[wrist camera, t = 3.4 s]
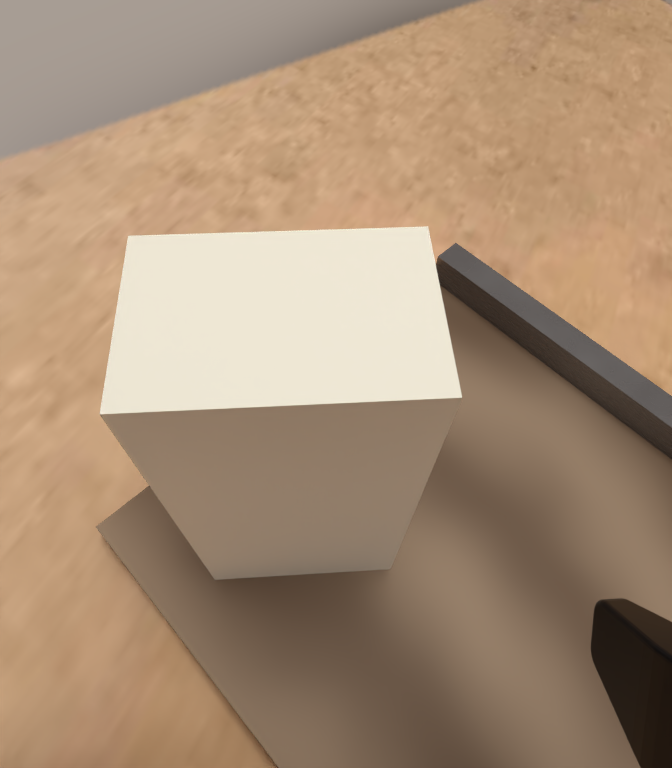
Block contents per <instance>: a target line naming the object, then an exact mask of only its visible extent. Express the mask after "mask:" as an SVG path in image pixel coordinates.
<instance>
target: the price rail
mask: <svg viewBox="0 0 672 768" xmlns="http://www.w3.org/2000/svg"><path fill="white" fill-rule="evenodd" d="M436 269H437V274H438V279H439V284H440V285H441V286H442V287H443V288H445V289H446V290H447V291H449V292H450V293H451V294H453V295H454V296H455V297H456V298H458V299H459V300H460V301H462V302H463V303H464V304H466V305H467V306H468V307H470V308H471V309H472V310H474V311H475V312H476V313H478V314H479V315H480V316H482V317H483V318H484V319H486V320H487V321H488V322H490V323H491V324H492V325H494V326H495V327H496V328H498V329H499V330H500V331H502V332H503V333H504V334H506V335H507V336H508V337H510V338H511V339H512V340H514V341H515V342H516V343H518V344H519V345H520V346H522V347H523V348H524V349H526V350H527V351H528V352H530V353H531V354H532V355H533V356H535V357H536V358H537V359H539V360H540V361H541V362H543V363H544V364H545V365H547V366H548V367H549V368H551V369H552V370H553V371H555V372H556V373H557V374H559V375H560V376H561V377H563V378H564V379H565V380H567V381H568V382H569V383H571V384H572V385H573V386H575V387H576V388H577V389H579V390H580V391H581V392H583V393H584V394H585V395H587V396H588V397H589V398H591V399H592V400H593V401H595V402H596V403H597V404H599V405H600V406H601V407H603V408H604V409H605V410H607V411H608V412H609V413H611V414H612V415H613V416H614V417H616V418H617V419H618V420H620V421H621V422H622V423H624V424H625V425H626V426H628V427H629V428H630V429H632V430H633V431H634V432H636V433H637V434H638V435H640V436H641V437H642V438H644V439H645V440H646V441H648V442H649V443H650V444H652V445H653V446H654V447H656V448H657V449H658V450H660V451H661V452H662V453H664V454H665V455H666V456H668V457H669V458H670V459H672V396H671V395H669V394H668V393H666V392H665V391H664V390H662V389H661V388H659V387H658V386H657V385H655V384H654V383H652V382H651V381H650V380H648V379H647V378H645V377H644V376H642V375H641V374H640V373H638V372H637V371H635V370H634V369H633V368H631V367H630V366H628V365H627V364H626V363H624V362H623V361H621V360H620V359H619V358H617V357H616V356H614V355H613V354H611V353H610V352H609V351H607V350H606V349H604V348H603V347H602V346H600V345H599V344H597V343H596V342H595V341H593V340H592V339H590V338H589V337H588V336H586V335H585V334H583V333H582V332H580V331H579V330H578V329H576V328H575V327H573V326H572V325H571V324H569V323H568V322H566V321H565V320H564V319H562V318H561V317H559V316H558V315H557V314H555V313H554V312H552V311H551V310H550V309H548V308H547V307H545V306H544V305H542V304H541V303H540V302H538V301H537V300H535V299H534V298H533V297H531V296H530V295H528V294H527V293H526V292H524V291H523V290H521V289H520V288H519V287H517V286H516V285H514V284H513V283H511V282H510V281H509V280H507V279H506V278H504V277H503V276H502V275H500V274H499V273H497V272H496V271H495V270H493V269H492V268H490V267H489V266H488V265H486V264H485V263H483V262H482V261H480V260H479V259H478V258H476V257H475V256H473V255H472V254H471V253H469V252H468V251H466V250H465V249H464V248H462V247H461V246H459V245H458V244H457V243H455V244H454V245H453V246H451V247H450V248H449V249H447V250H446V251H445V252H443V253H442V254H441V255H439V256H438V259H437V263H436Z"/></svg>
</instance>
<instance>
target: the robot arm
mask: <svg viewBox="0 0 672 768" xmlns="http://www.w3.org/2000/svg"><path fill="white" fill-rule="evenodd" d="M591 655H592V660H593V663H594V665H595V668H596V670H597V672H598V674H599V677H600V679H601V681H602V683H603V686H604V688H605V690H606V692H607V695H608V697H609V699H610V701H611V704H612V706H613V708H614V710H615V713H616V715H617V717H618V719H619V722H620V724H621V726H622V728H623V731H624V733H625V735H626V737H627V740H628V742H629V744H630V746H631V749H632V751H633V753H634V755H635V757H636V759H637V761H638V763H639V765H640V767H641V768H672V622H671V621H669V620H667V619H665V618H663V617H661V616H659V615H657V614H655V613H653V612H651V611H649V610H647V609H645V608H643V607H641V606H639V605H637V604H635V603H633V602H631V601H629V600H627V599H624V598H616V599H601V600H599V601H598V602H597V603H596V604H595V607H594V614H593V624H592V635H591Z"/></svg>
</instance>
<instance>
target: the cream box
mask: <svg viewBox="0 0 672 768" xmlns="http://www.w3.org/2000/svg"><path fill="white" fill-rule="evenodd" d="M461 400H462V394H461V389H460V384H459V379H458V374H457V369H456V364H455V359H454V354H453V349H452V344H451V339H450V334H449V329H448V324H447V319H446V314H445V309H444V304H443V299H442V294H441V289H440V284H439V279H438V274H437V269H436V264H435V259H434V254H433V249H432V244H431V239H430V234H429V229H428V227H400V228H367V229H335V230H302V231H270V232H237V233H205V234H172V235H140V236H128V241H127V247H126V253H125V260H124V266H123V272H122V278H121V285H120V291H119V297H118V303H117V309H116V316H115V322H114V328H113V334H112V341H111V347H110V353H109V359H108V365H107V372H106V378H105V384H104V390H103V397H102V403H101V409H100V416H101V417H102V418H103V420H104V421H105V423H106V424H107V426H108V427H109V428H110V430H111V431H112V433H113V434H114V436H115V437H116V439H117V440H118V441H119V443H120V444H121V446H122V447H123V449H124V450H125V451H126V453H127V454H128V456H129V457H130V459H131V460H132V462H133V463H134V464H135V466H136V467H137V469H138V470H139V472H140V473H141V474H142V476H143V477H144V479H145V480H146V482H147V483H148V485H149V486H150V487H151V489H152V490H153V492H154V493H155V495H156V496H157V497H158V499H159V500H160V502H161V503H162V505H163V506H164V508H165V509H166V510H167V512H168V513H169V515H170V516H171V518H172V519H173V520H174V522H175V523H176V525H177V526H178V528H179V529H180V531H181V532H182V533H183V535H184V536H185V538H186V539H187V541H188V542H189V543H190V545H191V546H192V548H193V549H194V551H195V552H196V554H197V555H198V556H199V558H200V559H201V561H202V562H203V564H204V565H205V566H206V568H207V569H208V571H209V572H210V574H211V575H212V577H213V578H214V579H215V580H220V579H236V578H253V577H269V576H286V575H302V574H318V573H335V572H351V571H368V570H384V569H391V566H392V564H393V562H394V559H395V557H396V554H397V552H398V550H399V547H400V545H401V543H402V540H403V538H404V535H405V533H406V531H407V528H408V526H409V523H410V521H411V519H412V516H413V514H414V512H415V509H416V507H417V504H418V502H419V500H420V497H421V495H422V492H423V490H424V488H425V485H426V483H427V481H428V478H429V476H430V473H431V471H432V469H433V466H434V464H435V462H436V459H437V457H438V454H439V452H440V450H441V447H442V445H443V442H444V440H445V438H446V435H447V433H448V431H449V428H450V426H451V423H452V421H453V419H454V416H455V414H456V411H457V409H458V407H459V404H460V402H461Z"/></svg>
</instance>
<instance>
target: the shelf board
mask: <svg viewBox="0 0 672 768" xmlns="http://www.w3.org/2000/svg"><path fill="white" fill-rule="evenodd" d="M440 289H441V294H442V299H443V304H444V309H445V314H446V319H447V324H448V329H449V334H450V339H451V344H452V349H453V354H454V359H455V364H456V369H457V374H458V379H459V384H460V389H461V394H462V400H461V402H460V404H459V407H458V409H457V411H456V414H455V416H454V419H453V421H452V423H451V426H450V428H449V431H448V433H447V435H446V438H445V440H444V442H443V445H442V447H441V450H440V452H439V454H438V457H437V459H436V462H435V464H434V466H433V469H432V471H431V473H430V476H429V478H428V481H427V483H426V485H425V488H424V490H423V492H422V495H421V497H420V500H419V502H418V504H417V507H416V509H415V512H414V514H413V516H412V519H411V521H410V523H409V526H408V528H407V531H406V533H405V535H404V538H403V540H402V543H401V545H400V547H399V550H398V552H397V554H396V557H395V559H394V562H393V564H392V566H391V569H384V570H368V571H351V572H335V573H318V574H302V575H286V576H269V577H253V578H236V579H220V580H215V579H214V578H213V577H212V575H211V574H210V572H209V571H208V569H207V568H206V566H205V565H204V564H203V562H202V561H201V559H200V558H199V556H198V555H197V554H196V552H195V551H194V549H193V548H192V546H191V545H190V543H189V542H188V541H187V539H186V538H185V536H184V535H183V533H182V532H181V531H180V529H179V528H178V526H177V525H176V523H175V522H174V520H173V519H172V518H171V516H170V515H169V513H168V512H167V510H166V509H165V508H164V506H163V505H162V503H161V502H160V500H159V499H158V497H157V496H156V495H155V493H154V492H153V490H152V489H151V487H150V486H148V487H147V488H146V489H144V490H143V491H142V492H140V493H139V494H138V495H137V496H135V497H134V498H133V499H131V500H130V501H129V502H128V503H126V504H125V505H124V506H122V507H121V508H120V509H118V510H117V511H116V512H115V513H113V514H112V515H111V516H109V517H108V518H107V519H106V520H104V521H103V522H102V523H100V524H99V525H98V526H96V528H97V529H98V531H99V532H100V533H101V534H102V536H103V537H104V538H105V540H106V541H107V542H108V544H109V545H110V546H111V548H112V549H113V550H114V552H115V553H116V554H117V556H118V557H119V558H120V560H121V561H122V562H123V563H124V565H125V566H126V567H127V569H128V570H129V571H130V573H131V574H132V575H133V577H134V578H135V579H136V581H137V582H138V583H139V585H140V586H141V587H142V588H143V590H144V591H145V592H146V594H147V595H148V596H149V598H150V599H151V600H152V602H153V603H154V604H155V606H156V607H157V608H158V610H159V611H160V612H161V614H162V615H163V616H164V617H165V619H166V620H167V621H168V623H169V624H170V625H171V627H172V628H173V629H174V631H175V632H176V633H177V635H178V636H179V637H180V639H181V640H182V641H183V643H184V644H185V645H186V646H187V648H188V649H189V650H190V652H191V653H192V654H193V656H194V657H195V658H196V660H197V661H198V662H199V664H200V665H201V666H202V668H203V669H204V670H205V671H206V673H207V674H208V675H209V677H210V678H211V679H212V681H213V682H214V683H215V685H216V686H217V687H218V689H219V690H220V691H221V693H222V694H223V695H224V697H225V698H226V699H227V700H228V702H229V703H230V704H231V706H232V707H233V708H234V710H235V711H236V712H237V714H238V715H239V716H240V718H241V719H242V720H243V722H244V723H245V724H246V726H247V727H248V728H249V729H250V731H251V732H252V733H253V735H254V736H255V737H256V739H257V740H258V741H259V743H260V744H261V745H262V747H263V748H264V749H265V751H266V752H267V753H268V755H269V756H270V757H271V758H272V760H273V761H274V762H275V764H276V765H277V766H278V768H641V767H640V765H639V763H638V761H637V759H636V757H635V755H634V753H633V751H632V749H631V746H630V744H629V742H628V740H627V737H626V735H625V733H624V731H623V728H622V726H621V724H620V722H619V719H618V717H617V715H616V713H615V710H614V708H613V706H612V704H611V701H610V699H609V697H608V695H607V692H606V690H605V688H604V686H603V683H602V681H601V679H600V677H599V674H598V672H597V670H596V668H595V665H594V663H593V660H592V655H591V635H592V624H593V614H594V607H595V604H596V603H597V602H598V601H599V600H601V599H616V598H624V599H627V600H629V601H631V602H633V603H635V604H637V605H639V606H641V607H643V608H645V609H647V610H649V611H651V612H653V613H655V614H657V615H659V616H661V617H663V618H665V619H667V620H669V621H671V622H672V459H670V458H669V457H668V456H666V455H665V454H664V453H662V452H661V451H660V450H658V449H657V448H656V447H654V446H653V445H652V444H650V443H649V442H648V441H646V440H645V439H644V438H642V437H641V436H640V435H638V434H637V433H636V432H634V431H633V430H632V429H630V428H629V427H628V426H626V425H625V424H624V423H622V422H621V421H620V420H618V419H617V418H616V417H614V416H613V415H612V414H611V413H609V412H608V411H607V410H605V409H604V408H603V407H601V406H600V405H599V404H597V403H596V402H595V401H593V400H592V399H591V398H589V397H588V396H587V395H585V394H584V393H583V392H581V391H580V390H579V389H577V388H576V387H575V386H573V385H572V384H571V383H569V382H568V381H567V380H565V379H564V378H563V377H561V376H560V375H559V374H557V373H556V372H555V371H553V370H552V369H551V368H549V367H548V366H547V365H545V364H544V363H543V362H541V361H540V360H539V359H537V358H536V357H535V356H533V355H532V354H531V353H530V352H528V351H527V350H526V349H524V348H523V347H522V346H520V345H519V344H518V343H516V342H515V341H514V340H512V339H511V338H510V337H508V336H507V335H506V334H504V333H503V332H502V331H500V330H499V329H498V328H496V327H495V326H494V325H492V324H491V323H490V322H488V321H487V320H486V319H484V318H483V317H482V316H480V315H479V314H478V313H476V312H475V311H474V310H472V309H471V308H470V307H468V306H467V305H466V304H464V303H463V302H462V301H460V300H459V299H458V298H456V297H455V296H454V295H453V294H451V293H450V292H449V291H447V290H446V289H445V288H443V287H442V286H441V285H440Z"/></svg>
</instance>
